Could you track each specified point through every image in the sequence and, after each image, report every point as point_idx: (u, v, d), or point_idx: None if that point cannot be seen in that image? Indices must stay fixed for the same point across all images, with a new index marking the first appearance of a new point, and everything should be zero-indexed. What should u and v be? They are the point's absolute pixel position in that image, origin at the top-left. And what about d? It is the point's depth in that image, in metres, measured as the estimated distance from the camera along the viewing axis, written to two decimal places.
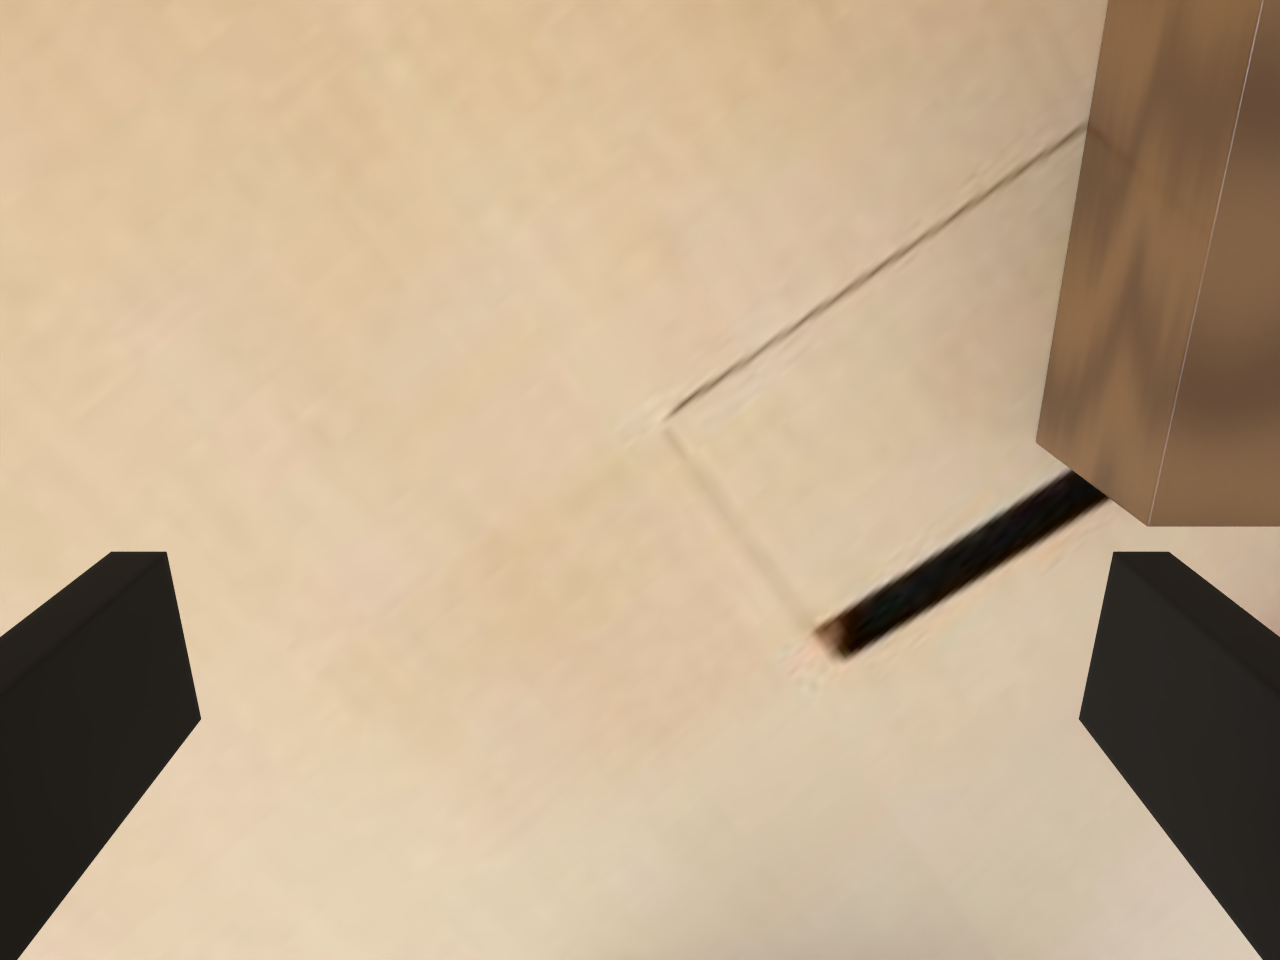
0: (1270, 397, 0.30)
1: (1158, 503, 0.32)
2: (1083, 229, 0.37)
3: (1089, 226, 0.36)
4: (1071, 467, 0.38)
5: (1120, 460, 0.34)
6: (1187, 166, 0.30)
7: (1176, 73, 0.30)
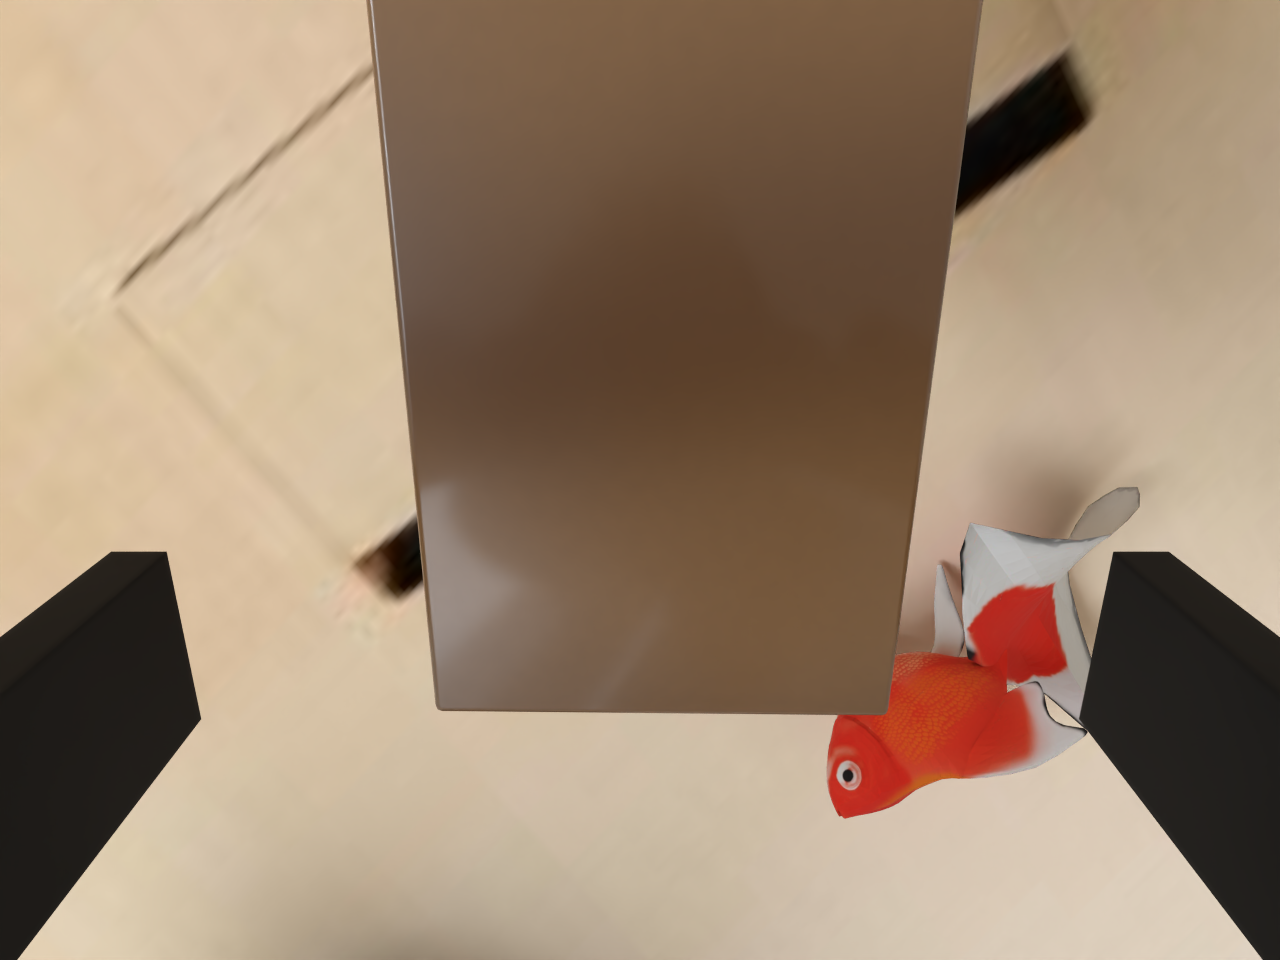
0: (689, 360, 0.10)
1: (444, 654, 0.11)
2: None
3: None
4: None
5: None
6: None
7: None
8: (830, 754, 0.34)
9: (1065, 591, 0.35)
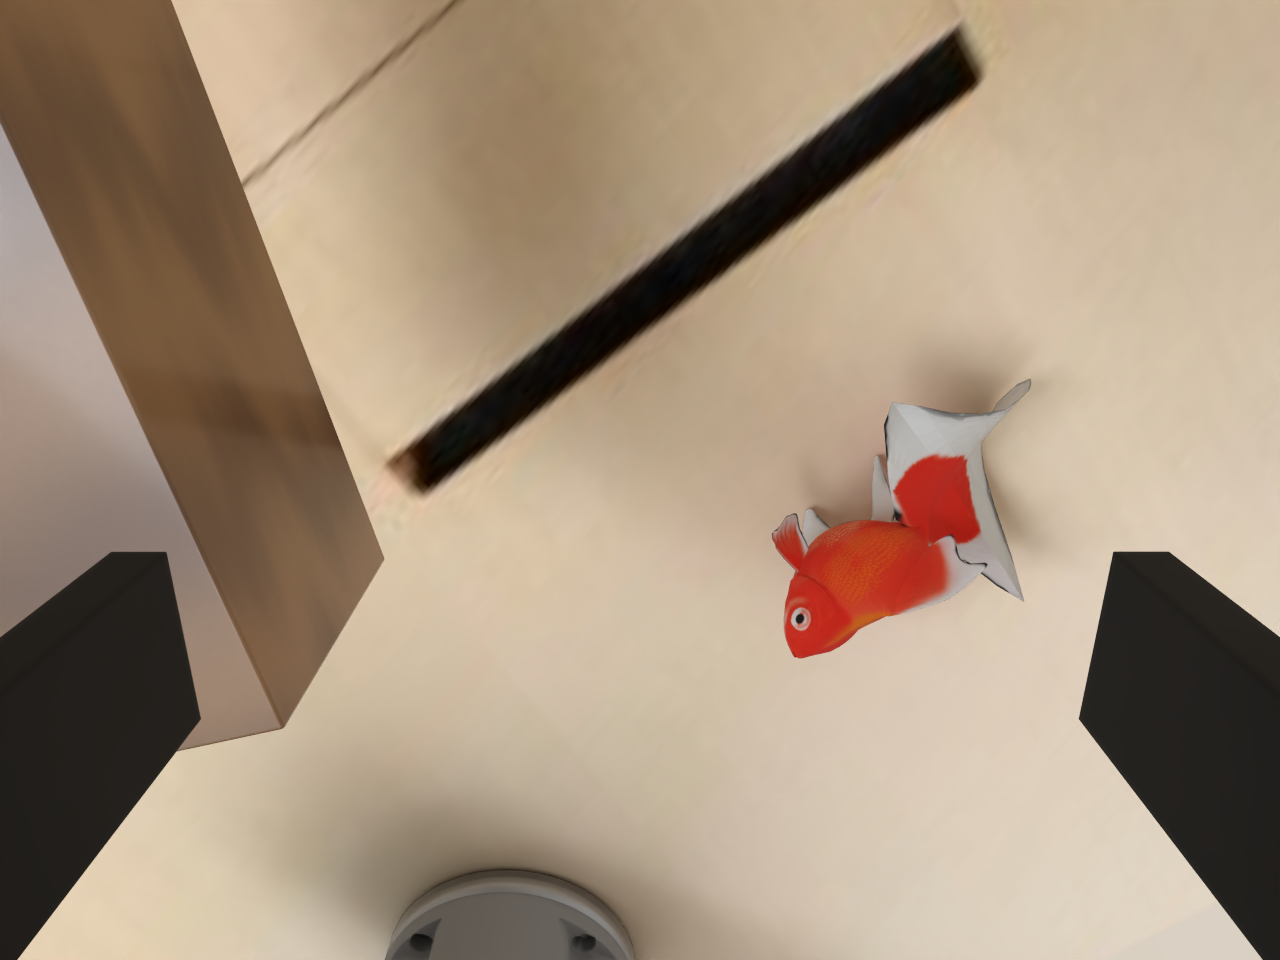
0: None
1: None
2: None
3: None
4: None
5: None
6: None
7: None
8: (786, 606, 0.41)
9: (980, 474, 0.42)
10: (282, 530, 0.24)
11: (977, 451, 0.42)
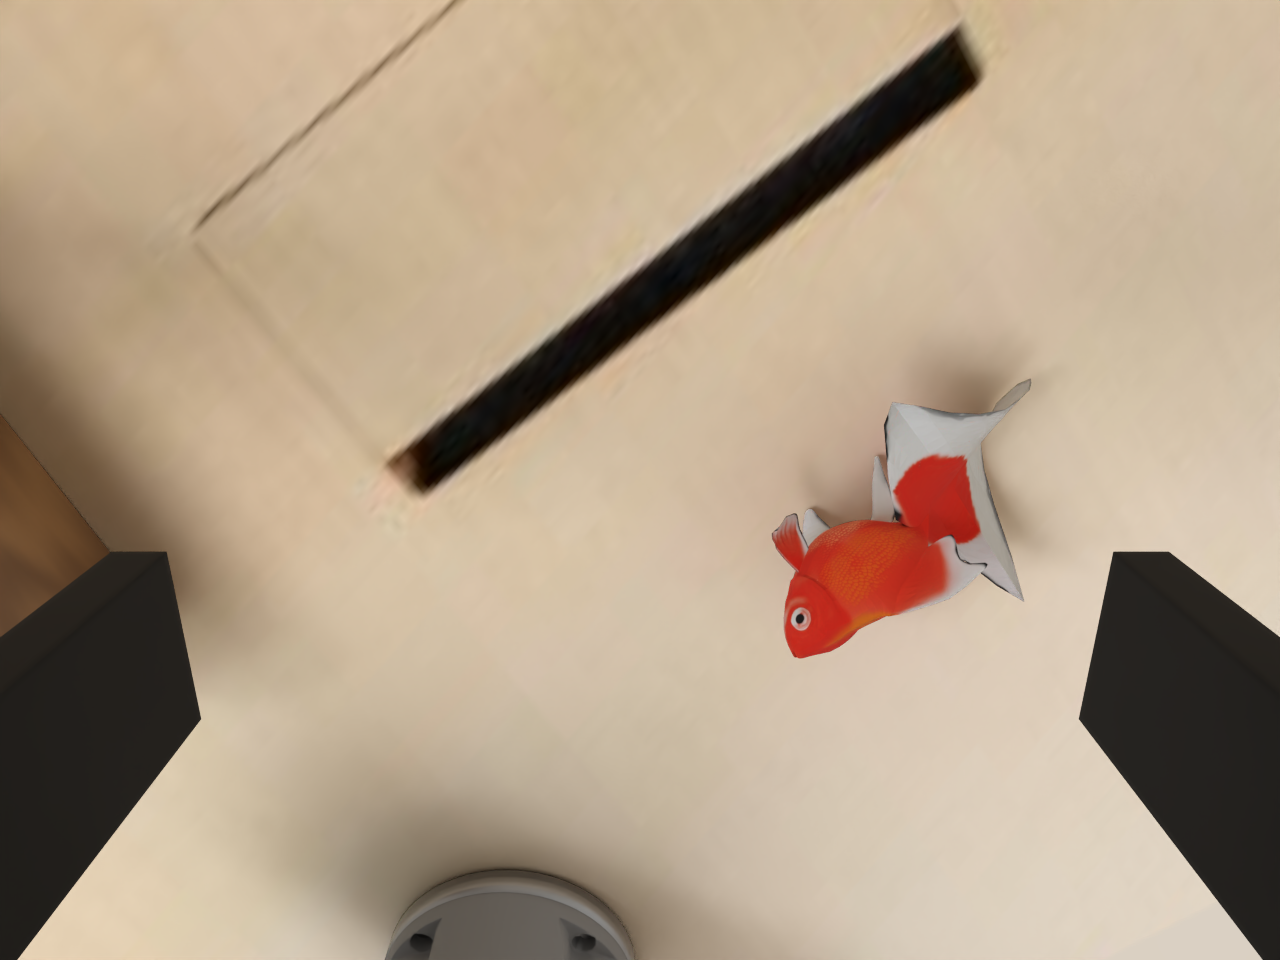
0: None
1: None
2: None
3: None
4: None
5: None
6: None
7: None
8: (786, 606, 0.41)
9: (980, 474, 0.42)
10: None
11: (977, 451, 0.42)
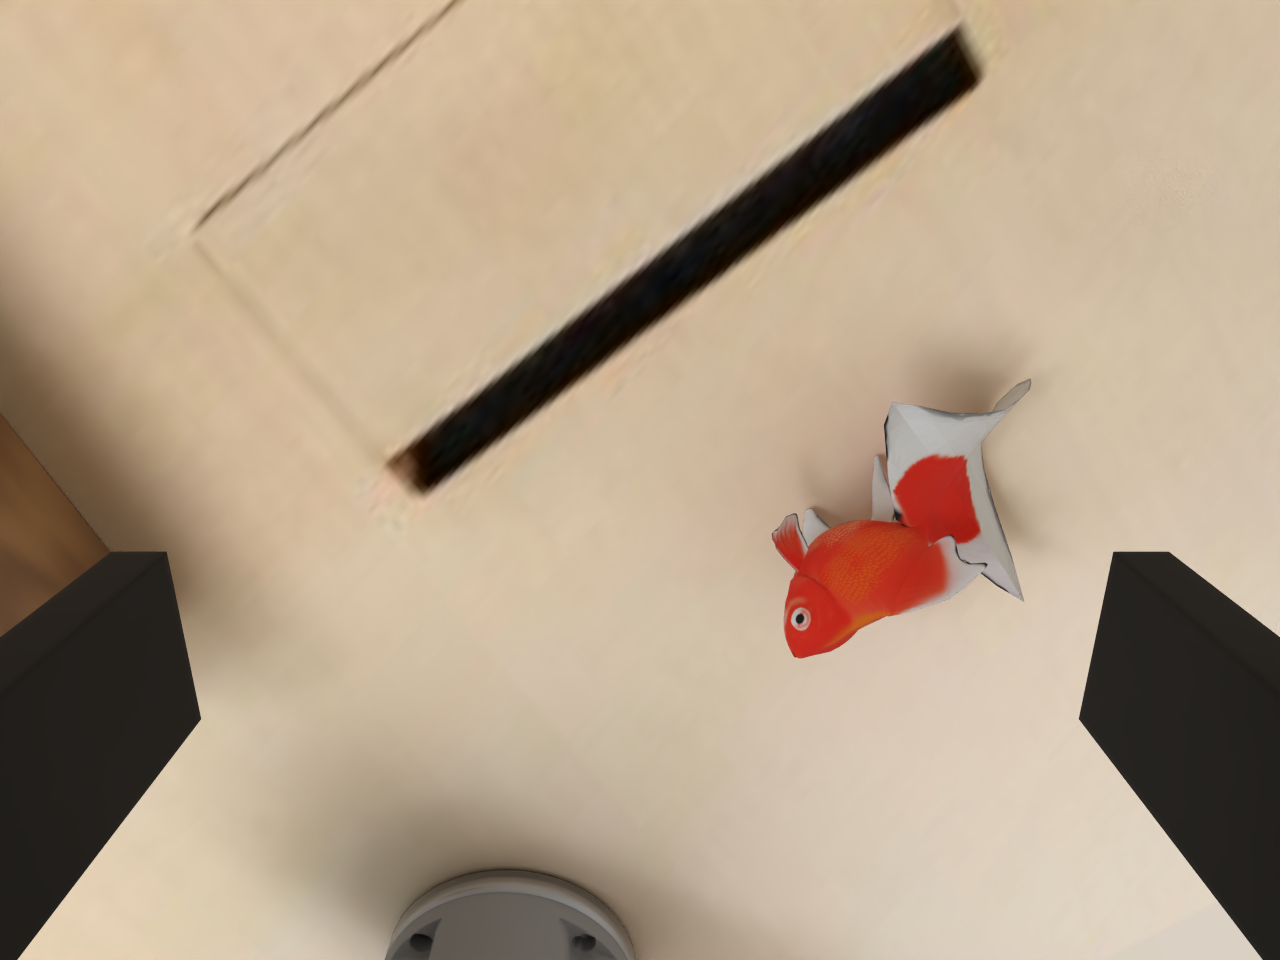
0: None
1: None
2: None
3: None
4: None
5: None
6: None
7: None
8: (786, 606, 0.41)
9: (980, 474, 0.42)
10: None
11: (977, 451, 0.42)
